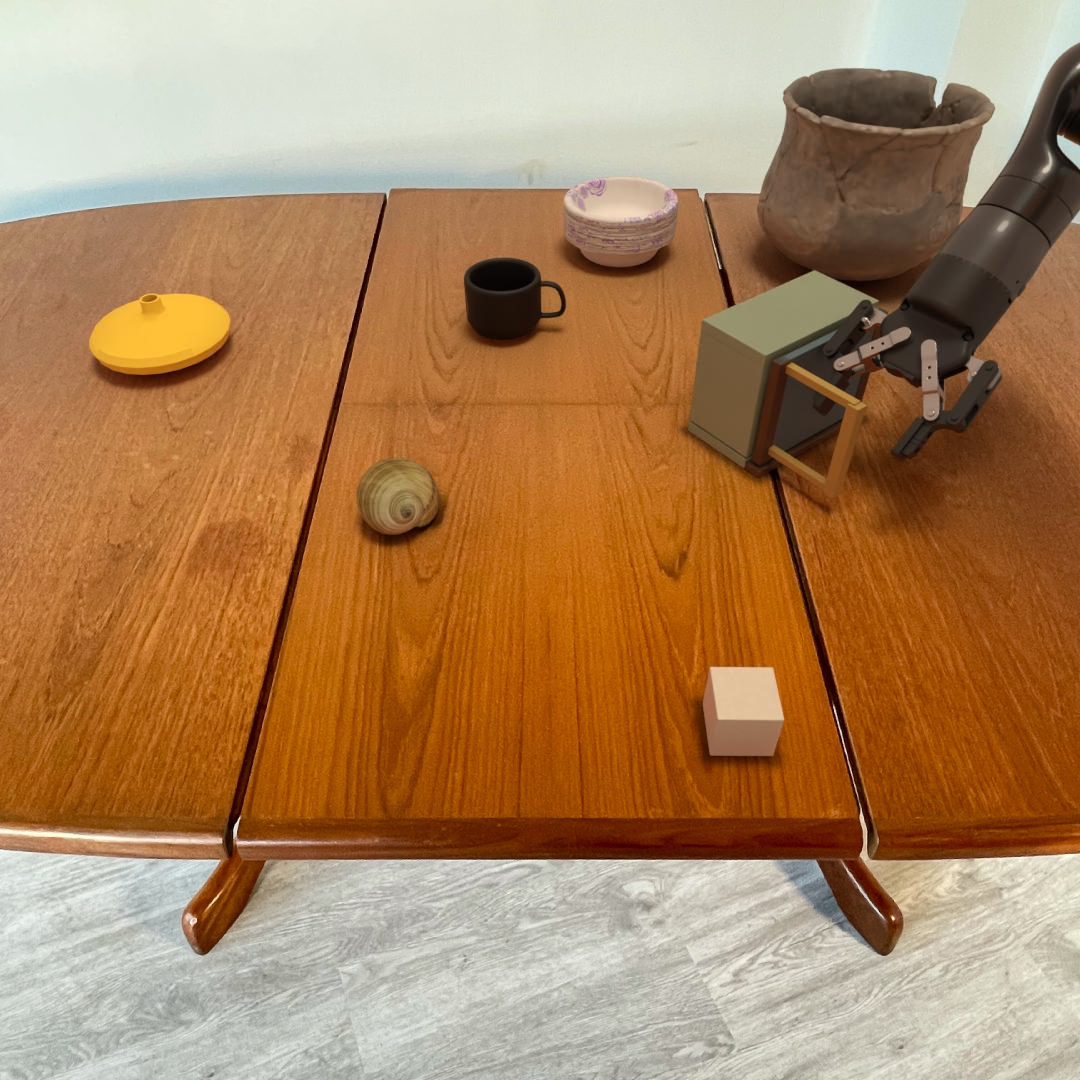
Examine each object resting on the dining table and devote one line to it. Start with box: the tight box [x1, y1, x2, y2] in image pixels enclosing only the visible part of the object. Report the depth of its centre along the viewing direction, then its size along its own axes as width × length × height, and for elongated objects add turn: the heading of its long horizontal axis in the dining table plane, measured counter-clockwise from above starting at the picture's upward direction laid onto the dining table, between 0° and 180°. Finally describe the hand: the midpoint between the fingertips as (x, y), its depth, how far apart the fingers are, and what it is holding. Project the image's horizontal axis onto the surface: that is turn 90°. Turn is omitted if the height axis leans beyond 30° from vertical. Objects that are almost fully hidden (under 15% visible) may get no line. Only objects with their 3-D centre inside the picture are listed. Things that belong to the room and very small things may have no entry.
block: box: [702, 666, 785, 757], centre depth 64 cm, size 5×5×5 cm
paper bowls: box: [562, 176, 679, 268], centre depth 118 cm, size 15×15×8 cm
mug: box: [463, 257, 567, 341], centre depth 104 cm, size 12×9×7 cm
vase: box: [88, 293, 232, 376], centre depth 102 cm, size 16×16×7 cm
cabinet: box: [687, 270, 879, 479], centre depth 88 cm, size 10×16×13 cm, turn 127°
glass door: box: [752, 307, 889, 500], centre depth 83 cm, size 9×15×12 cm, turn 127°
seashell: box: [356, 457, 440, 536], centre depth 82 cm, size 10×7×8 cm
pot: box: [756, 67, 996, 282], centre depth 110 cm, size 25×24×21 cm
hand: (856, 434), depth 78 cm, fingers open, 8 cm apart
